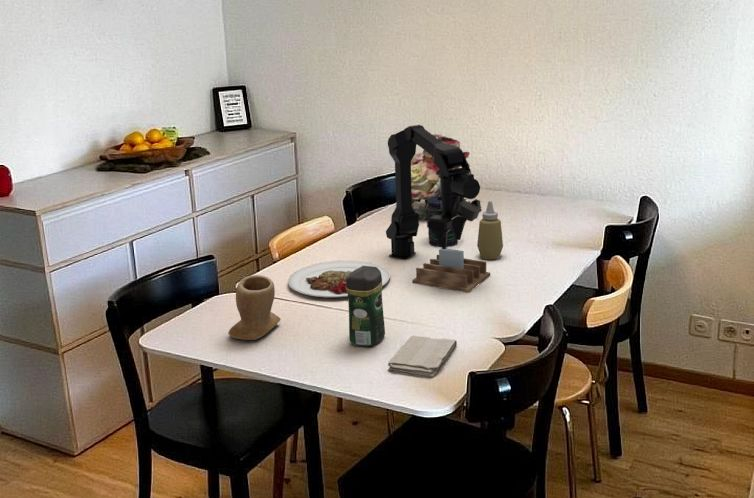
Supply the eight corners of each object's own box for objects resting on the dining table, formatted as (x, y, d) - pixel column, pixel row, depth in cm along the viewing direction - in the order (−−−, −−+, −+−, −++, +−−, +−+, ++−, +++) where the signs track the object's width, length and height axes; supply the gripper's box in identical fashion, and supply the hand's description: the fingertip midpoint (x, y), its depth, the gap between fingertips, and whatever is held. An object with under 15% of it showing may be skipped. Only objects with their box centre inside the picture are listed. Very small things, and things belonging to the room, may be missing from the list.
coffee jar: (360, 330, 215) (356, 261, 209) (388, 334, 212) (386, 264, 206) (344, 345, 206) (340, 274, 201) (374, 349, 204) (371, 278, 198)
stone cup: (263, 346, 208) (258, 290, 203) (222, 340, 213) (216, 285, 208) (293, 323, 221) (288, 269, 216) (254, 318, 226) (249, 265, 221)
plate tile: (439, 275, 248) (438, 249, 245) (442, 273, 249) (442, 247, 247) (460, 279, 244) (460, 253, 242) (463, 276, 246) (463, 250, 243)
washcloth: (385, 374, 192) (385, 361, 191) (411, 342, 208) (410, 330, 207) (435, 380, 188) (435, 368, 187) (457, 347, 204) (457, 336, 203)
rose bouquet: (419, 201, 331) (417, 125, 322) (484, 210, 315) (484, 131, 305) (381, 217, 312) (378, 137, 302) (449, 228, 295) (447, 144, 286)
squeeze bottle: (502, 261, 260) (502, 205, 254) (476, 260, 262) (475, 205, 256) (503, 253, 267) (504, 198, 262) (478, 252, 269) (478, 198, 263)
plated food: (342, 259, 269) (342, 249, 268) (411, 280, 248) (410, 269, 247) (267, 285, 249) (266, 275, 248) (335, 310, 229) (334, 299, 228)
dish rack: (412, 283, 246) (411, 268, 244) (436, 267, 258) (435, 253, 256) (468, 292, 236) (468, 277, 235) (490, 275, 248) (490, 261, 247)
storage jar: (443, 249, 274) (442, 205, 269) (422, 243, 281) (421, 199, 276) (464, 242, 280) (464, 198, 275) (443, 236, 287) (442, 193, 282)
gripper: (461, 203, 227) (462, 257, 232) (490, 187, 242) (490, 238, 247) (425, 199, 233) (426, 252, 237) (455, 183, 248) (456, 234, 253)
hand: (451, 244), depth 243 cm, fingers open, 9 cm apart
